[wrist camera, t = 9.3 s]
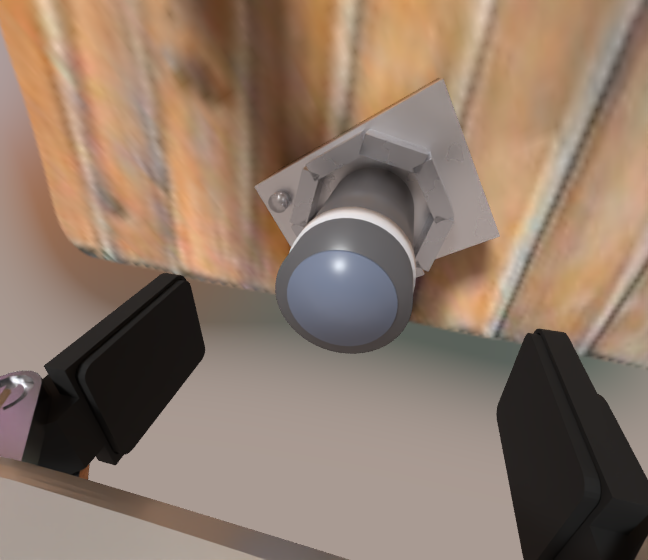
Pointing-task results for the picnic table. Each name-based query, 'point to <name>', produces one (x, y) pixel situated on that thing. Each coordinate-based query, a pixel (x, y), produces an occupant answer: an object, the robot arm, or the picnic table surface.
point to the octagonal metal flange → (406, 162)
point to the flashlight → (353, 266)
